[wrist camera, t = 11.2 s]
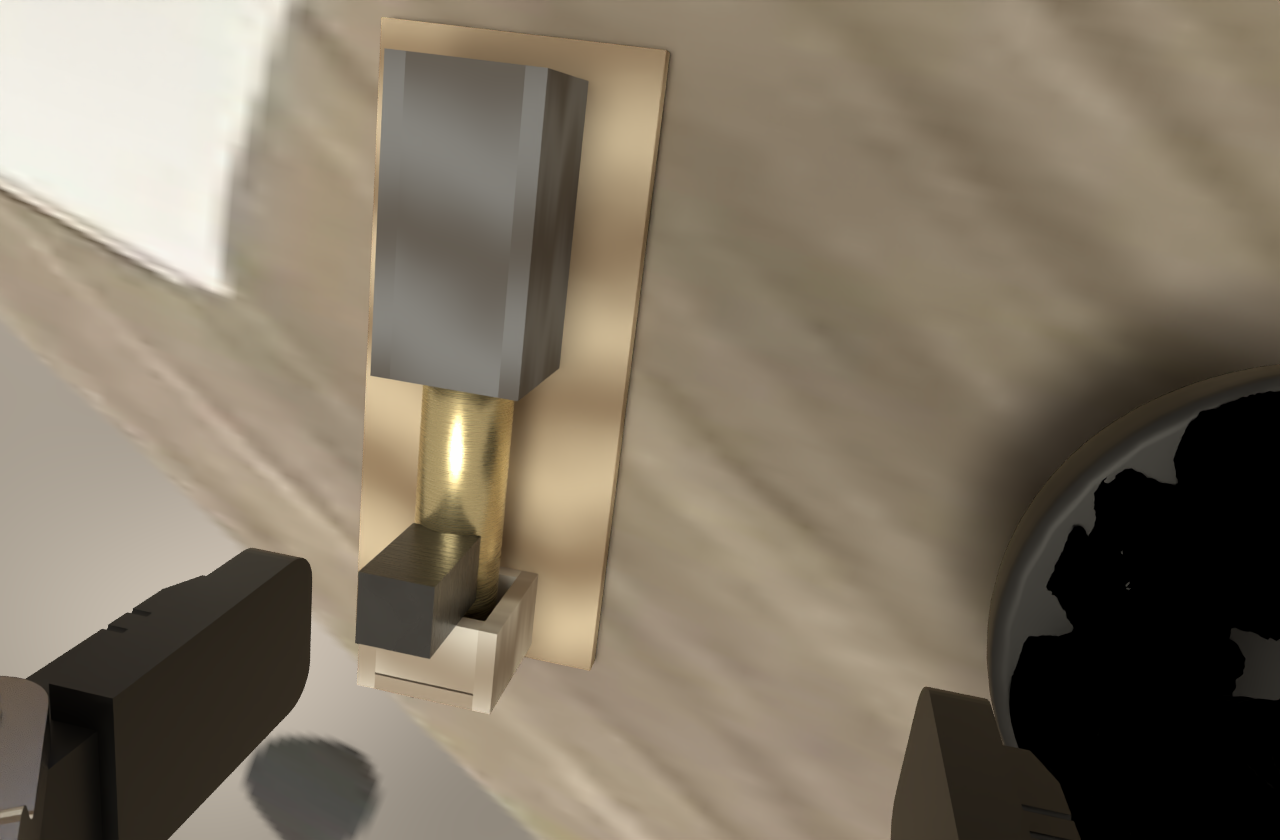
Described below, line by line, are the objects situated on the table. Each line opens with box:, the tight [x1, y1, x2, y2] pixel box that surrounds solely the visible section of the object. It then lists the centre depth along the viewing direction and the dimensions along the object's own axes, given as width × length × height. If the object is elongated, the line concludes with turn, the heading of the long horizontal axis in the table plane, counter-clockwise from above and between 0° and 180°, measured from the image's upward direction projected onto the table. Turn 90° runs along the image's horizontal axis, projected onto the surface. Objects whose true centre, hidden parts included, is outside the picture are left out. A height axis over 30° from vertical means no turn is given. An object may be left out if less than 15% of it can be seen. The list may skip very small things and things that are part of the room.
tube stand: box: [356, 17, 670, 714], centre depth 40 cm, size 28×12×7 cm, turn 173°
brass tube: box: [355, 385, 514, 659], centre depth 39 cm, size 17×4×8 cm, turn 173°
